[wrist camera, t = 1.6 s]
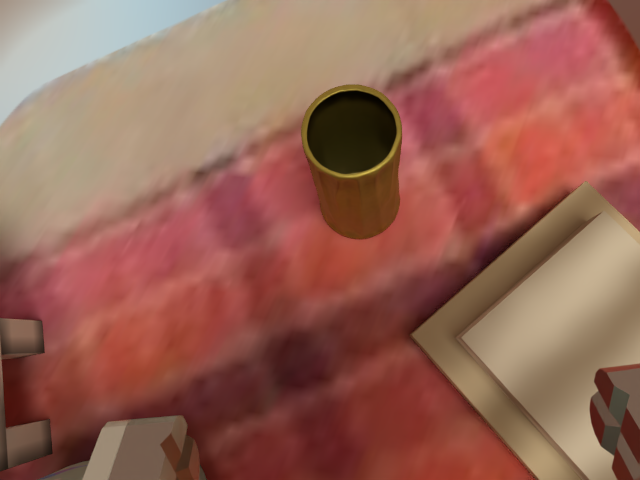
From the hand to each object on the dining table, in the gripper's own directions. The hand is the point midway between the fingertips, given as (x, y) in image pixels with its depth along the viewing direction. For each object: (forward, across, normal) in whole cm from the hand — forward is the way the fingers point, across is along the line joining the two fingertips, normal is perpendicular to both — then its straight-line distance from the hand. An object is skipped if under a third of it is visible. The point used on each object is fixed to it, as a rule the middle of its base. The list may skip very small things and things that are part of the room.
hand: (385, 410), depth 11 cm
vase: (+30, 0, -13) cm, 32 cm away
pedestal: (+20, +14, -21) cm, 32 cm away
